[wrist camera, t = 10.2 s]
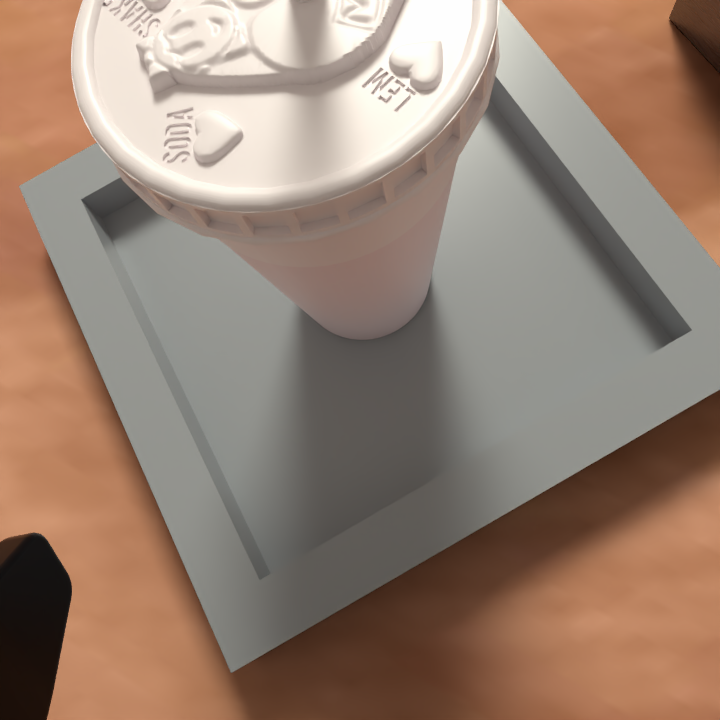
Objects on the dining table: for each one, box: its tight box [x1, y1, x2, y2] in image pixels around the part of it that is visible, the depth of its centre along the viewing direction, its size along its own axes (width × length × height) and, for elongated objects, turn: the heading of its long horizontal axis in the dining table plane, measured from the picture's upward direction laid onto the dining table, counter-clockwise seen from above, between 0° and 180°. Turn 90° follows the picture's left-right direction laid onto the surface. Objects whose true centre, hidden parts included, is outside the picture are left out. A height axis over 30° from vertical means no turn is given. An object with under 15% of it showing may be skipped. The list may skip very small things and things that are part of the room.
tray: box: [19, 0, 720, 673], centre depth 18 cm, size 15×15×2 cm
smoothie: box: [71, 0, 500, 340], centre depth 12 cm, size 6×6×14 cm
